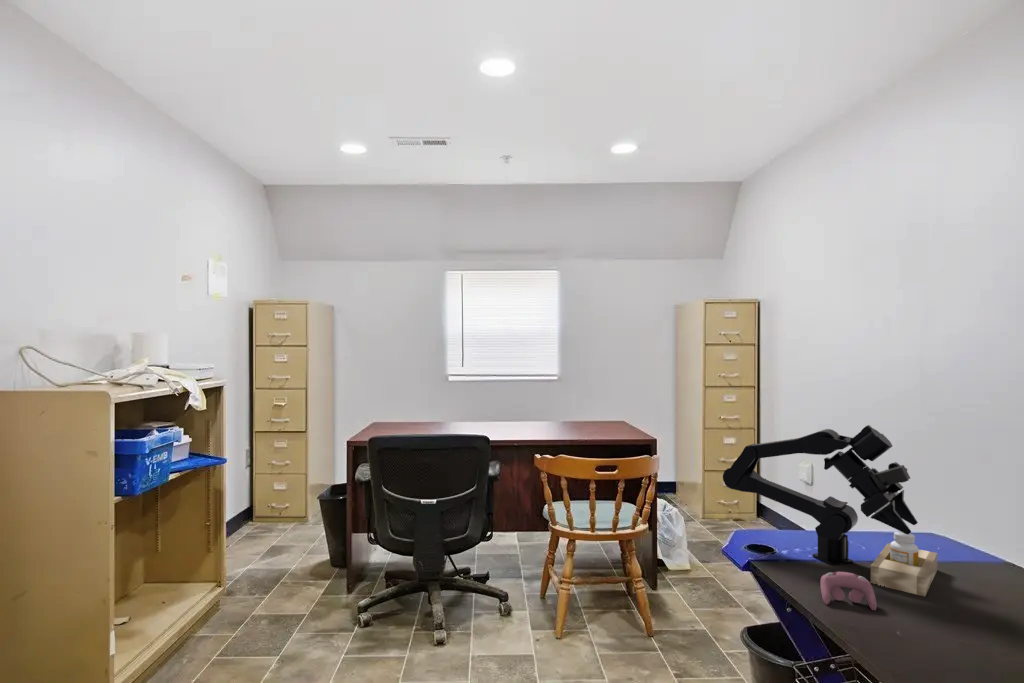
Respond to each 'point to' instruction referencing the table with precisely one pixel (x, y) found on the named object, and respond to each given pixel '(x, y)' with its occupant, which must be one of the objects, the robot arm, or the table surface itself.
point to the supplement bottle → (904, 549)
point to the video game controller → (849, 580)
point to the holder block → (904, 572)
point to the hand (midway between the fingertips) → (912, 528)
